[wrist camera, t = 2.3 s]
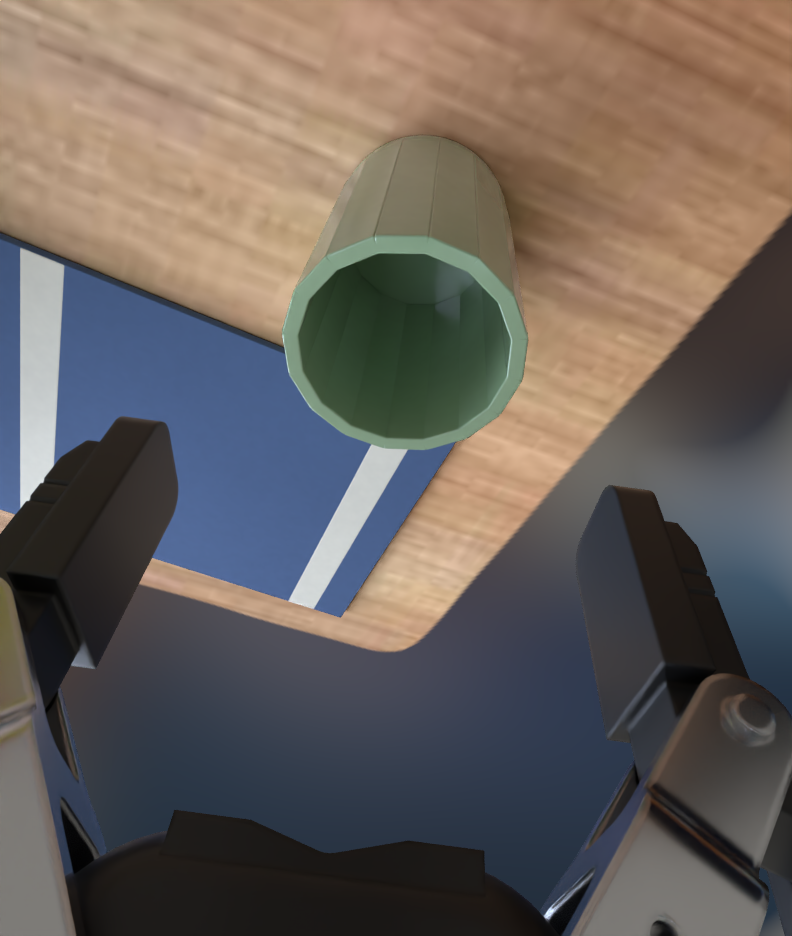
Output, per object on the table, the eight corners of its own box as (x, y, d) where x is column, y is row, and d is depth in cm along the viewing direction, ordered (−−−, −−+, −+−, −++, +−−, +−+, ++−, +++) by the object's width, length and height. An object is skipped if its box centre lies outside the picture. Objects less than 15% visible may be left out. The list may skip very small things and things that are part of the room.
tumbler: (308, 179, 20) (236, 292, 14) (474, 101, 18) (480, 191, 12) (380, 326, 23) (350, 472, 17) (527, 273, 22) (554, 415, 15)
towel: (-10, 500, 32) (-14, 505, 32) (-23, 222, 22) (-30, 226, 22) (341, 612, 36) (340, 618, 36) (466, 421, 26) (466, 427, 26)
